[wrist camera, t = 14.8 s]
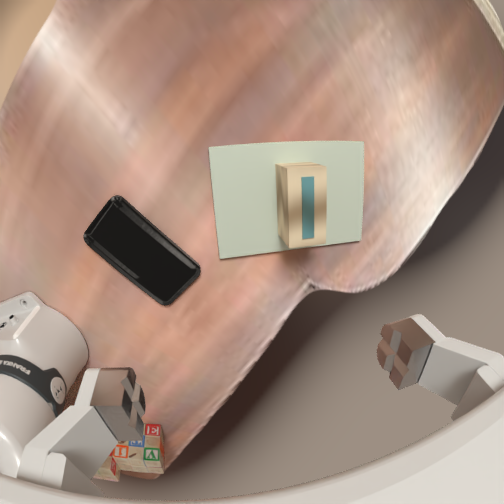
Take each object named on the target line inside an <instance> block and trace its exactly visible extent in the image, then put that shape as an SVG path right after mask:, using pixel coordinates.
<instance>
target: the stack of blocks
mask: <svg viewBox="0 0 504 504" xmlns="http://www.w3.org/2000/svg"><path fill="white" fill-rule="evenodd" d="M120 470H126V471H135V472H145V473H161V474H163V473H164V438H163V433H162V428H161V425H157V424H145V423H144V432H143V441H118V444H117V445H116V446H115V448H114V449H113V450H112V452H111V453H110V455H109V456H108V457H107V459H106V460H105V461H104V463H103V464H102V466H101V467H100V468H99V470H98V471H97V472H96V474H95V475H94V477H93V478H97V479H103V480H104V479H105V480H110V481H117V482H119V478H120Z"/></svg>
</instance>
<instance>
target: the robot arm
mask: <svg viewBox="0 0 504 504" xmlns="http://www.w3.org/2000/svg"><path fill="white" fill-rule="evenodd" d="M25 301H26V302H25ZM381 335H382V337H383V339H382V340H381V342H380V343H379V344H378V348H377V357H378V361H379V363H380V365H381V367H382V368H383V369H384V370H387V371H389V372H390V376H389V378H390V379H391V381H392V382H393V383H394V385H395V386H396V387H397V389H398V390H400V389H403V388H405V387H408V386H411V385H413V384H416V383H418V384H419V385H421V386H422V387H424V388H426V389H428V390H430V391H432V392H433V393H435V394H437V395H439V396H441V397H443V398H445V399H446V400H448V401H450V402H452V403H454V404H456V405H457V407H456V409H455V410H454V412H453V414H452V416H451V418H452V420H453V422H451V423H449V424H448V425H446V426H444V427H442V428H441V429H439V430H437V431H435V432H433V433H431V434H430V435H428V436H426V437H424V438H422V439H420V440H418V441H416V442H414V443H412V444H410V445H408V446H406V447H403V448H401V449H399V450H397V451H395V452H393V453H390V454H388V455H386V456H383V457H381V458H379V459H376V460H373V461H371V462H368V463H366V464H363V465H361V466H358V467H355V468H352V469H349V470H346V471H343V472H340V473H337V474H334V475H331V476H327V477H324V478H321V479H317V480H313V481H310V482H306V483H302V484H298V485H294V486H289V487H285V488H280V489H275V490H270V491H265V492H259V493H253V494H248V495H240V496H232V497H224V498H213V499H200V500H180V501H179V500H178V501H177V500H176V501H154V500H131V499H118V498H108V497H104V492H103V491H102V490H101V489H100V488H99V487H98V486H97V485H95V484H94V483H93V482H92V481H91V479H92V478H93V477H94V475H95V474H96V472H97V471H98V470H99V468H100V467H101V466H102V464H103V463H104V461H105V460H106V459H107V457H108V456H109V455H110V453H111V452H112V450H113V449H114V448H115V446H116V445H117V444H118V441H143V432H144V423H143V421H142V419H141V417H142V416H143V415H144V414H145V397H144V393H143V390H142V388H141V386H140V385H139V384H137V383H136V382H135V381H136V374H135V372H134V370H133V369H132V368H130V367H128V368H88V369H87V370H86V371H85V373H84V376H83V379H82V382H81V385H80V389H79V392H78V395H77V398H76V401H75V405H74V406H69V407H68V408H67V409H66V410H65V411H64V412H63V413H62V411H63V408H64V404H65V399H66V395H67V393H68V391H69V389H70V387H71V385H73V384H74V382H75V380H76V377H77V375H78V374H79V372H80V371H81V370H82V369H83V367H84V366H85V365H86V363H87V360H88V348H87V345H86V342H85V340H84V338H83V336H82V334H81V333H80V331H79V330H78V329H77V327H76V326H75V325H74V324H73V323H72V322H71V321H70V320H69V319H68V318H66V317H65V316H64V315H62V314H61V313H59V312H58V311H56V310H54V309H52V308H50V307H48V306H47V305H45V304H44V303H43V302H42V301H41V300H40V299H39V298H38V297H37V296H36V295H35V294H33V293H32V292H26V293H23V294H21V295H18V296H16V297H13V298H11V299H8V300H6V301H3V302H1V303H0V504H504V357H503V356H502V355H501V354H500V353H497V352H493V351H490V350H487V349H484V348H481V347H478V346H475V345H472V344H469V343H466V342H463V341H460V340H457V339H454V338H451V337H448V338H446V337H445V336H444V335H443V334H442V333H441V332H440V331H439V330H438V329H437V328H436V327H435V326H434V325H433V324H432V323H430V322H429V321H428V320H427V319H426V318H425V317H424V316H423V315H421V314H416V315H413V316H410V317H408V318H405V319H401V320H398V321H395V322H392V323H388V324H385V325H384V326H383V328H382V330H381Z"/></svg>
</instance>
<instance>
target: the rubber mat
mask: <svg viewBox="0 0 504 504" xmlns="http://www.w3.org/2000/svg"><path fill="white" fill-rule="evenodd" d="M208 148H209V159H210V170H211V181H212V191H213V201H214V211H215V221H216V230H217V239H218V248H219V257H220V259H223V258H231V257H238V256H246V255H254V254H262V253H269V252H277V251H285V250H292V249H300V248H307V247H315V246H323V245H330V244H338V243H345V242H353V241H361V233H362V216H363V192H364V142H363V141H292V142H269V143H253V144H239V145H228V146H217V147H208ZM295 162H313V163H316V164H319V165H323V166H326V167H327V219H326V244H320V245H312V246H304V247H296V248H289V247H288V246H287V245H286V244H285V242H284V241H283V240H282V238H281V237H280V236H279V235H278V219H277V193H276V171H275V164H277V163H295Z"/></svg>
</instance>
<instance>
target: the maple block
mask: <svg viewBox="0 0 504 504" xmlns="http://www.w3.org/2000/svg"><path fill="white" fill-rule="evenodd" d="M275 171H276V193H277V219H278V235H279V236H280V237H281V238H282V240H283V241H284V242H285V244H286V245H287V246H288V247H289V248H296V247H304V246H312V245H320V244H326V219H327V167H326V166H323V165H319V164H316V163H313V162H295V163H277V164H275Z"/></svg>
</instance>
